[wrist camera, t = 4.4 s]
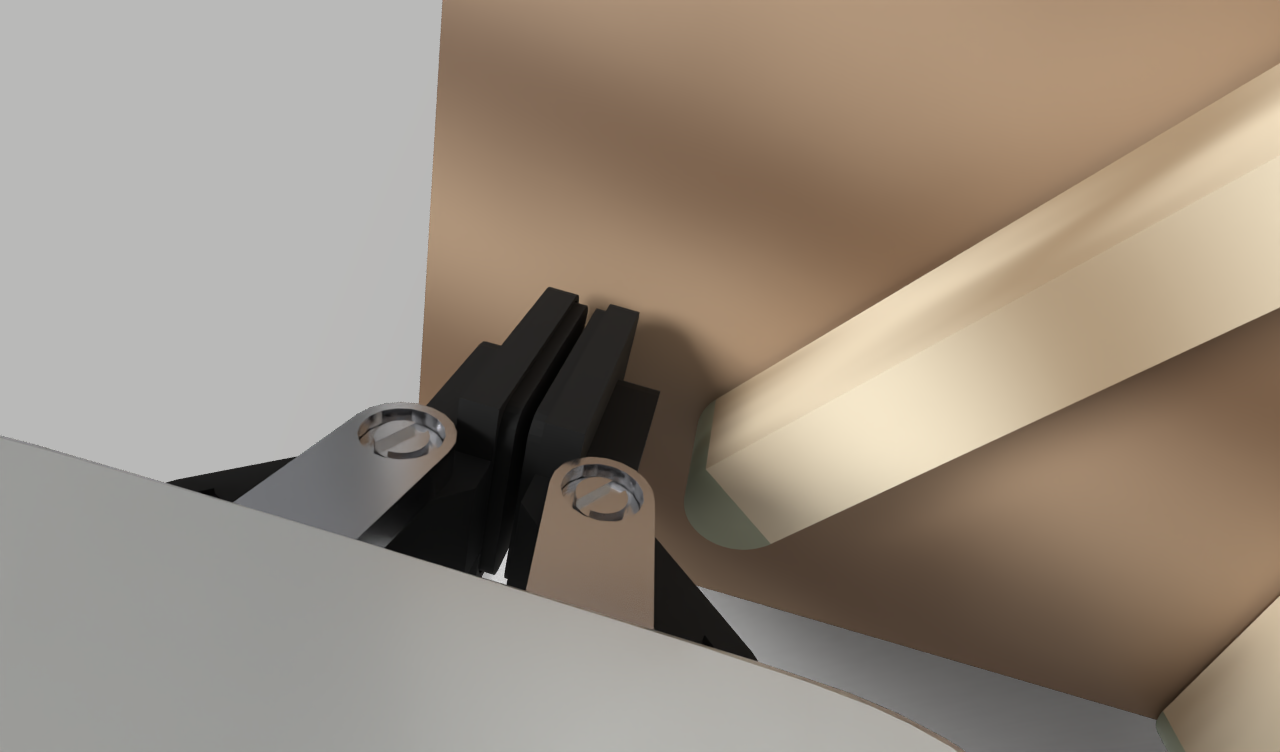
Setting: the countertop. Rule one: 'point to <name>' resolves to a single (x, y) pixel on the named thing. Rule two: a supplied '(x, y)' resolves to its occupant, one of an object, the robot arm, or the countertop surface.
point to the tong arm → (1007, 329)
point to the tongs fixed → (1232, 697)
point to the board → (874, 292)
